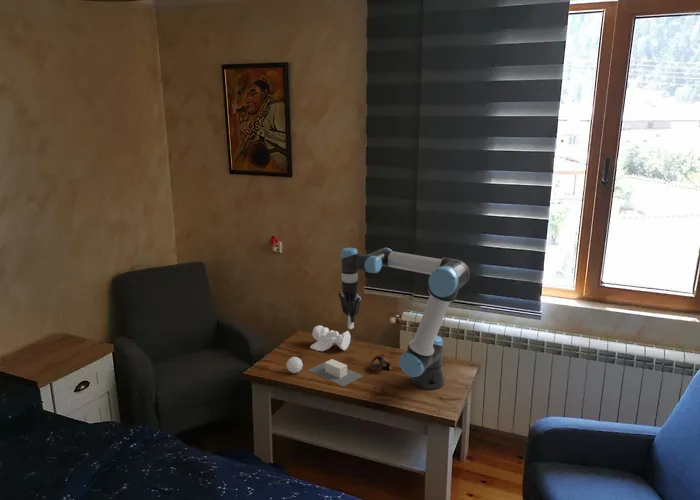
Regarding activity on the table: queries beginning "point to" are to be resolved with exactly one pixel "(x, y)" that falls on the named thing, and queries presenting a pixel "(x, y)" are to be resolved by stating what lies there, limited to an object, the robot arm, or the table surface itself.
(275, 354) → the table surface
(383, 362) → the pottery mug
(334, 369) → the cream block
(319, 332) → the cherub figurine
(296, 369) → the geometric ball
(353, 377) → the grey mat
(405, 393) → the table surface
